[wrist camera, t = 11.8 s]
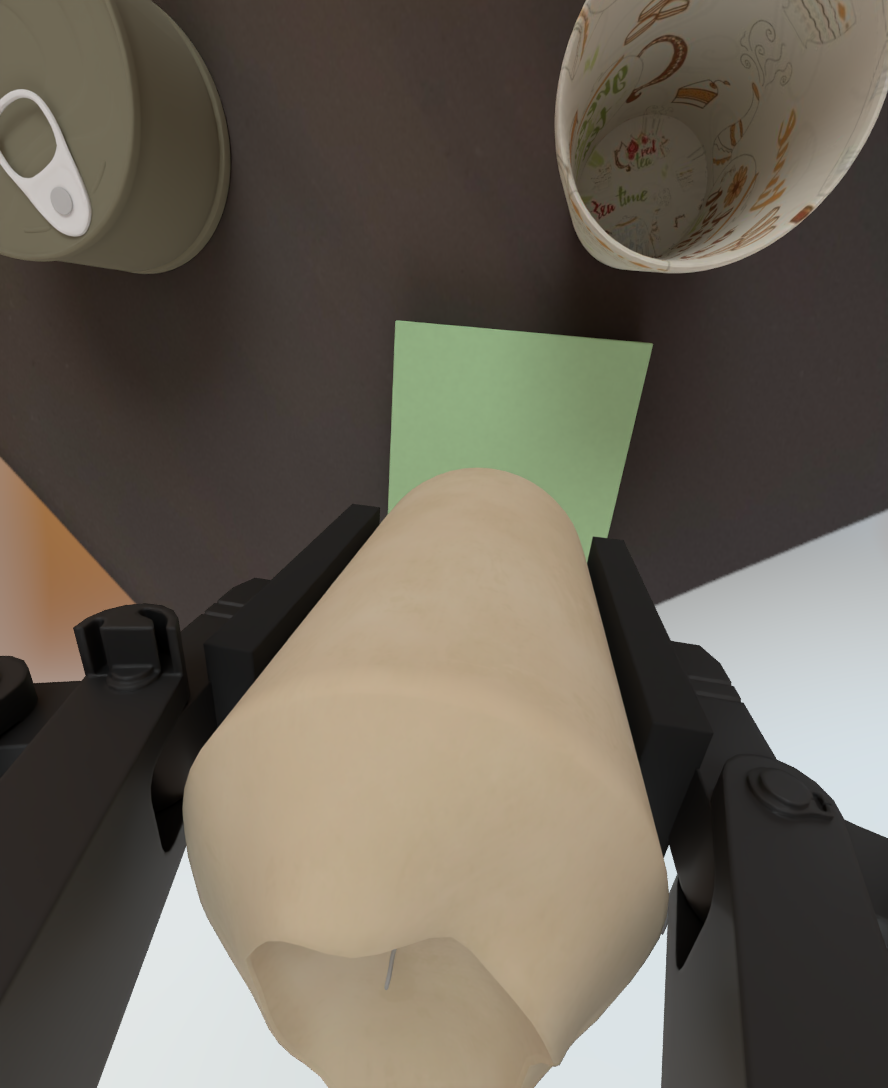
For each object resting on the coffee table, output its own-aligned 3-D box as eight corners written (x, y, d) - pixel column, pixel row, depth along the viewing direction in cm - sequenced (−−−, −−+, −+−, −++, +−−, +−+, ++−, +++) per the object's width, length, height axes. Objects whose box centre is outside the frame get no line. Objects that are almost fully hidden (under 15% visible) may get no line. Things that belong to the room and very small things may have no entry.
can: (133, -92, 21) (-35, -275, 15) (279, 203, 24) (193, 156, 18) (-32, 84, 25) (-224, -3, 18) (115, 319, 28) (-4, 313, 22)
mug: (568, 323, 24) (591, 313, 15) (497, 12, 20) (471, -253, 11) (751, 257, 22) (906, 199, 13) (712, -107, 18) (895, -555, 9)
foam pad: (641, 342, 24) (653, 343, 22) (592, 559, 29) (597, 578, 27) (406, 321, 26) (394, 320, 23) (396, 532, 30) (386, 548, 28)
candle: (352, 493, 13) (-54, 852, 4) (558, 439, 12) (669, 798, 3) (415, 661, 15) (237, 1173, 6) (600, 632, 13) (752, 1245, 4)
